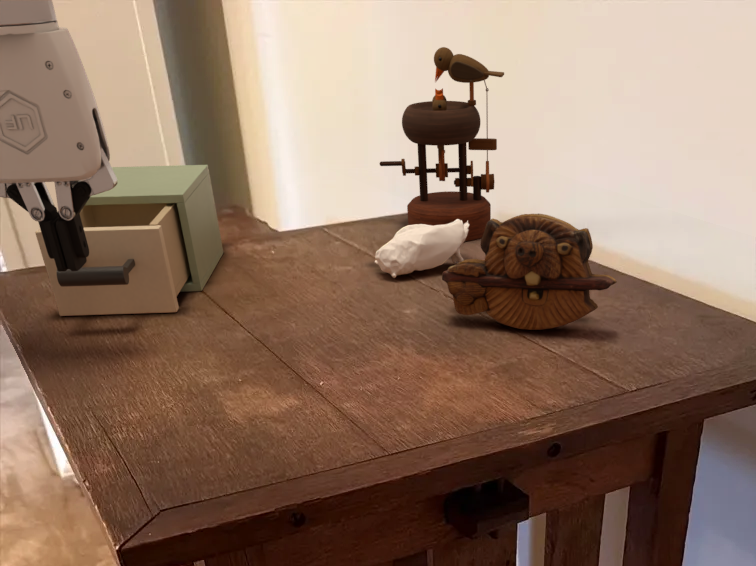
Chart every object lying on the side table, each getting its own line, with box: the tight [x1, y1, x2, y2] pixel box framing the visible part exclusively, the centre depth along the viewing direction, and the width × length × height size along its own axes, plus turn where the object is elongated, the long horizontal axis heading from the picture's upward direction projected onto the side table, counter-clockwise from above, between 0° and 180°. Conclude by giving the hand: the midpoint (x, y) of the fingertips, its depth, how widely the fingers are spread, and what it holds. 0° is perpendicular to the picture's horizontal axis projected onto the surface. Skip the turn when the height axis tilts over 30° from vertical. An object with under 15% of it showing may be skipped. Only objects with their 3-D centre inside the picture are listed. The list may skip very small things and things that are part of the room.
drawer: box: [34, 203, 191, 317], centre depth 91 cm, size 18×11×8 cm, turn 3°
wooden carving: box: [441, 213, 618, 331], centre depth 85 cm, size 16×5×10 cm, turn 77°
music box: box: [379, 46, 505, 242], centre depth 110 cm, size 15×11×20 cm
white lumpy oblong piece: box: [374, 219, 469, 279], centre depth 101 cm, size 5×7×10 cm
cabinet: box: [85, 164, 224, 293], centre depth 101 cm, size 15×13×10 cm
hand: (72, 266), depth 79 cm, fingers closed
